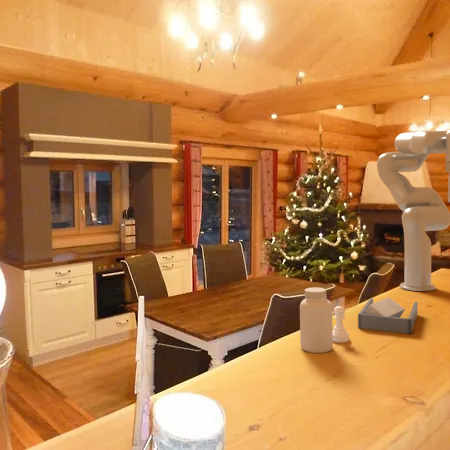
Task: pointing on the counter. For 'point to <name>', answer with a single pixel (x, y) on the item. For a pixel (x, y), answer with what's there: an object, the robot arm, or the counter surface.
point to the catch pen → (387, 321)
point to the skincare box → (385, 308)
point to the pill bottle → (316, 321)
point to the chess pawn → (339, 326)
